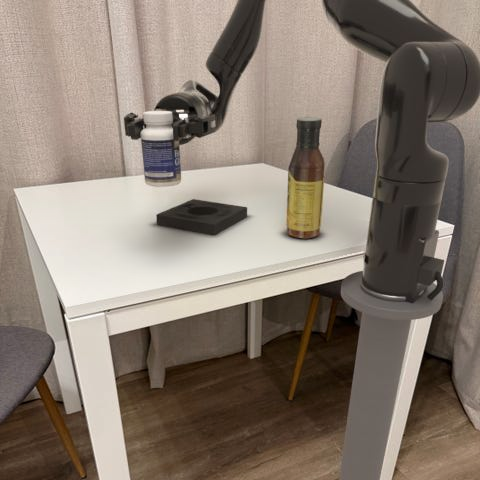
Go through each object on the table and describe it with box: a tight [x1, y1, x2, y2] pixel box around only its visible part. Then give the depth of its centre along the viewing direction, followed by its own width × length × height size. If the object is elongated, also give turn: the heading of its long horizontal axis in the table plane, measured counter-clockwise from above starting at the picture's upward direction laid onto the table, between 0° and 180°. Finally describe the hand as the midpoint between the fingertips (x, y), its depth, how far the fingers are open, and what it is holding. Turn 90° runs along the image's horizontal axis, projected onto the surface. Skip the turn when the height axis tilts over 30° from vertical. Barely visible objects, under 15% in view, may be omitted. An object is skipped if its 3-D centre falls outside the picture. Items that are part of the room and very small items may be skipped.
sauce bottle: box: [285, 116, 326, 240], centre depth 83 cm, size 7×6×20 cm
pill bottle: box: [140, 110, 182, 188], centre depth 69 cm, size 5×5×10 cm
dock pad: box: [155, 198, 248, 236], centre depth 95 cm, size 13×13×2 cm
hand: (154, 132), depth 65 cm, fingers closed on pill bottle, 5 cm apart
